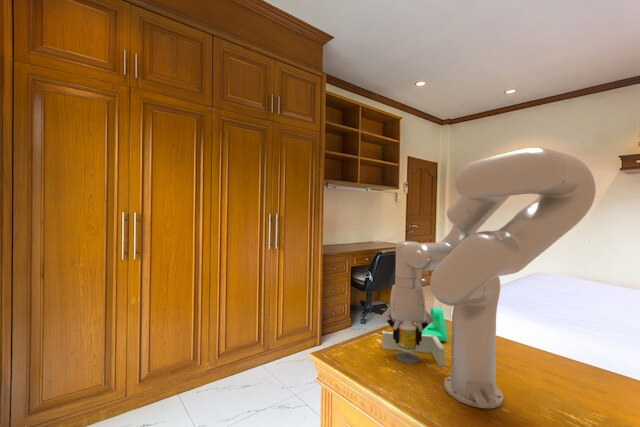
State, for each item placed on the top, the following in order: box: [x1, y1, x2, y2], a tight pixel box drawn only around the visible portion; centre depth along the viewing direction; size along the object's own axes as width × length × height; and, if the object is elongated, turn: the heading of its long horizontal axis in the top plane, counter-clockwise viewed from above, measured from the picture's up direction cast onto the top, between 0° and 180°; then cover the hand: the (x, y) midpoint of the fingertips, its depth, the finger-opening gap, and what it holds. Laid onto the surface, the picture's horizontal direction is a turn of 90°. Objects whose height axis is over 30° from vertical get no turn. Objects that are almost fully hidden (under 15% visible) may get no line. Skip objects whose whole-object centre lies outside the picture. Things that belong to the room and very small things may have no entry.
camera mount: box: [415, 307, 448, 342], centre depth 107 cm, size 12×8×10 cm, turn 175°
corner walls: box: [381, 330, 446, 368], centre depth 90 cm, size 10×17×5 cm, turn 82°
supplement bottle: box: [398, 321, 417, 353], centre depth 89 cm, size 5×5×10 cm
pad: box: [394, 351, 420, 365], centre depth 89 cm, size 7×7×1 cm
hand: (406, 342), depth 89 cm, fingers closed on supplement bottle, 5 cm apart
